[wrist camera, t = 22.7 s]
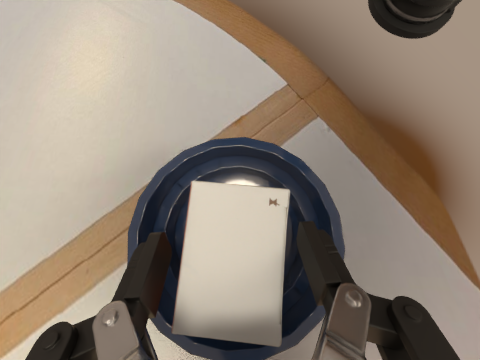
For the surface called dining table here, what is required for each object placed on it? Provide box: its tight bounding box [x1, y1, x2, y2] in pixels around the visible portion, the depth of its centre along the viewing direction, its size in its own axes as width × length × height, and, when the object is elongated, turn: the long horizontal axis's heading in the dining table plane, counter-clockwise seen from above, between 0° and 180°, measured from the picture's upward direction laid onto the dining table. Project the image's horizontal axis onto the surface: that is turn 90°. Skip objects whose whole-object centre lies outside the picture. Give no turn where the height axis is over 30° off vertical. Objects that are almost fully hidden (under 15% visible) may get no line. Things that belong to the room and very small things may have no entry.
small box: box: [171, 181, 290, 347], centre depth 15 cm, size 8×6×10 cm
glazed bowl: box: [128, 137, 345, 360], centre depth 18 cm, size 17×17×6 cm
